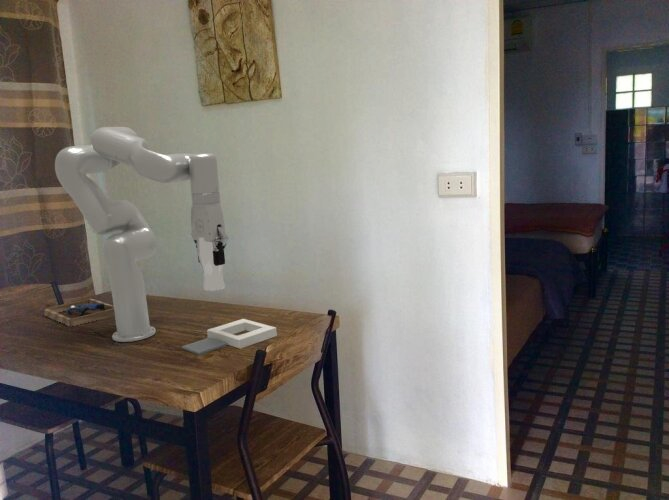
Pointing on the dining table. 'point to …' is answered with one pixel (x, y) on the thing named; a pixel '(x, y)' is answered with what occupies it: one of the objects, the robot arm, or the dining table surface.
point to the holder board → (254, 336)
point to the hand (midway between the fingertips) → (211, 262)
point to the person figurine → (86, 308)
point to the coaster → (204, 346)
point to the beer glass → (210, 266)
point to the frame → (54, 315)
